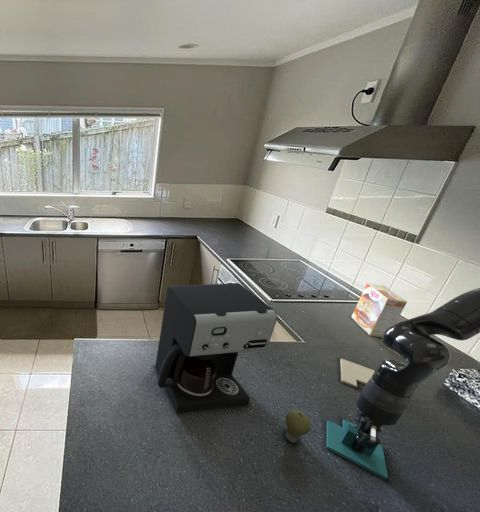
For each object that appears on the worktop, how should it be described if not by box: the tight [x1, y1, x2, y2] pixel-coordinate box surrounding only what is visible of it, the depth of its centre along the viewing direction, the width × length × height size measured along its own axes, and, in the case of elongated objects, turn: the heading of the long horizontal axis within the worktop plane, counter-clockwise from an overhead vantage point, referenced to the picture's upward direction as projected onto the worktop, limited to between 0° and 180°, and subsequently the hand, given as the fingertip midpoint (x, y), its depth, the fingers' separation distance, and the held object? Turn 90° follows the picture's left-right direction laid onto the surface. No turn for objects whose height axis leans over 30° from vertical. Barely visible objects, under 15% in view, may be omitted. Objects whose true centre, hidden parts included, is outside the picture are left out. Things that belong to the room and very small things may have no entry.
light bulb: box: [285, 409, 312, 443], centre depth 76 cm, size 6×6×10 cm
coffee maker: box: [154, 282, 278, 414], centre depth 87 cm, size 28×20×35 cm
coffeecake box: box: [351, 282, 408, 338], centre depth 126 cm, size 15×7×20 cm, turn 164°
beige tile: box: [339, 358, 375, 389], centre depth 99 cm, size 14×14×2 cm
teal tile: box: [325, 419, 389, 480], centre depth 77 cm, size 12×14×6 cm
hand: (355, 445), depth 76 cm, fingers closed on teal tile, 2 cm apart
